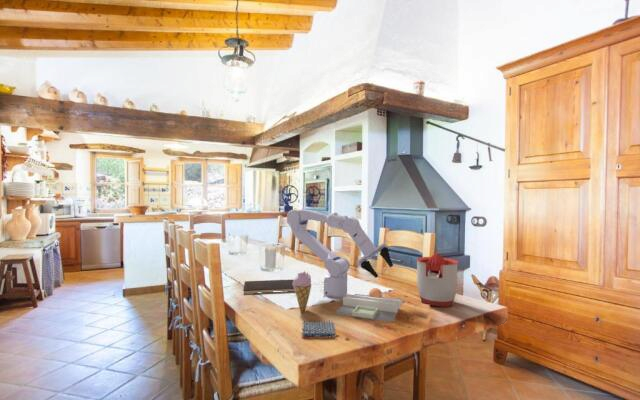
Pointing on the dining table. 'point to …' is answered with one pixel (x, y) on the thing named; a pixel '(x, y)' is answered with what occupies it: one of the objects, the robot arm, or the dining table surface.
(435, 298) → the citrus juicer
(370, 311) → the dish
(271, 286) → the hardcover book
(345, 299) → the grey ridged board
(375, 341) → the dining table surface
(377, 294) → the ball
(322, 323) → the woven mat
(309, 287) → the ice cream cone
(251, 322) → the dining table surface
